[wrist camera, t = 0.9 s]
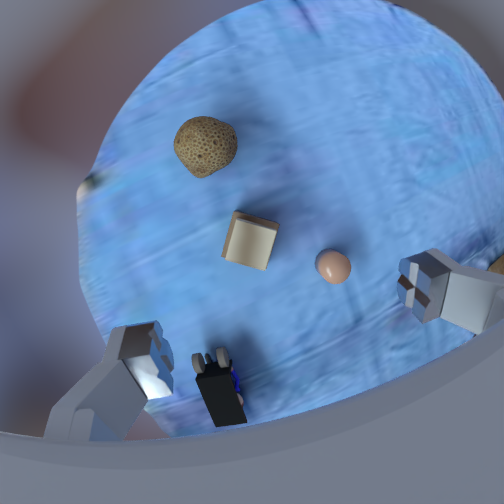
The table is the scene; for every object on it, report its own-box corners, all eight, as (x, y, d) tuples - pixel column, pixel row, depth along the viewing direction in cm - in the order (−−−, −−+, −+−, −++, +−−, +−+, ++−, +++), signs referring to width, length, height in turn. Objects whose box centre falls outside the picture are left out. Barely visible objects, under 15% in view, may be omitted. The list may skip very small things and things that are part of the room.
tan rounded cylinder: (346, 256, 50) (356, 262, 45) (333, 280, 50) (341, 288, 45) (322, 244, 49) (331, 248, 44) (309, 269, 50) (316, 276, 45)
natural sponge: (229, 118, 45) (224, 98, 36) (245, 167, 47) (245, 158, 37) (177, 135, 46) (161, 120, 36) (192, 184, 47) (178, 180, 37)
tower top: (273, 227, 44) (276, 231, 39) (262, 263, 45) (264, 270, 40) (237, 217, 43) (236, 219, 38) (227, 253, 44) (224, 259, 39)
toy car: (194, 345, 53) (218, 409, 54) (184, 361, 46) (214, 430, 46) (228, 337, 53) (250, 403, 54) (223, 352, 46) (250, 424, 46)
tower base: (276, 222, 49) (279, 224, 44) (264, 262, 50) (266, 269, 45) (235, 210, 48) (233, 211, 43) (223, 251, 49) (221, 256, 44)
